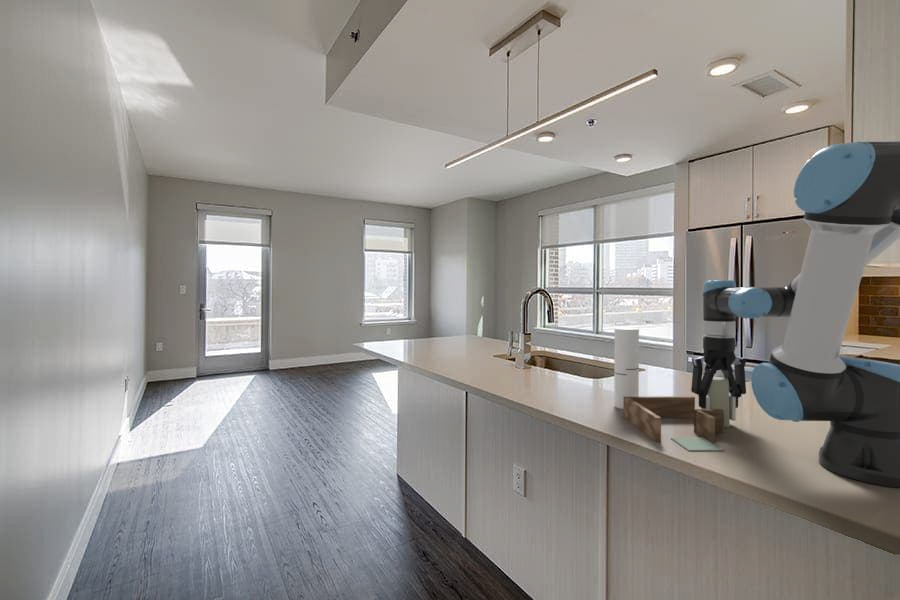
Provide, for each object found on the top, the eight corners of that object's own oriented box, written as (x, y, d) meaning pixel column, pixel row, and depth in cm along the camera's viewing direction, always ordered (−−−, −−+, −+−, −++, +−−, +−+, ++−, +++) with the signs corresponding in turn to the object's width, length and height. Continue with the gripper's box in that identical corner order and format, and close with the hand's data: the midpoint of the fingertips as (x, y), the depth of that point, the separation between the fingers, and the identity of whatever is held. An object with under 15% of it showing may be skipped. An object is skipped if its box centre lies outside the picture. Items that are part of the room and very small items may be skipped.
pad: (723, 451, 98) (723, 449, 98) (688, 451, 98) (688, 449, 98) (703, 438, 106) (703, 437, 106) (671, 438, 106) (671, 437, 106)
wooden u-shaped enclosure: (738, 441, 104) (738, 417, 104) (656, 441, 105) (656, 417, 104) (692, 416, 124) (692, 396, 124) (623, 416, 125) (623, 396, 125)
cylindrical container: (641, 410, 131) (641, 329, 130) (616, 409, 133) (616, 329, 132) (635, 403, 138) (636, 327, 137) (612, 402, 140) (612, 327, 139)
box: (729, 423, 118) (729, 377, 117) (729, 428, 114) (730, 380, 114) (706, 420, 121) (707, 375, 120) (706, 425, 117) (706, 378, 116)
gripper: (744, 334, 120) (743, 415, 121) (676, 334, 120) (676, 415, 121) (764, 337, 113) (763, 423, 113) (691, 338, 113) (690, 423, 114)
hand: (718, 419), depth 117 cm, fingers closed on box, 6 cm apart
